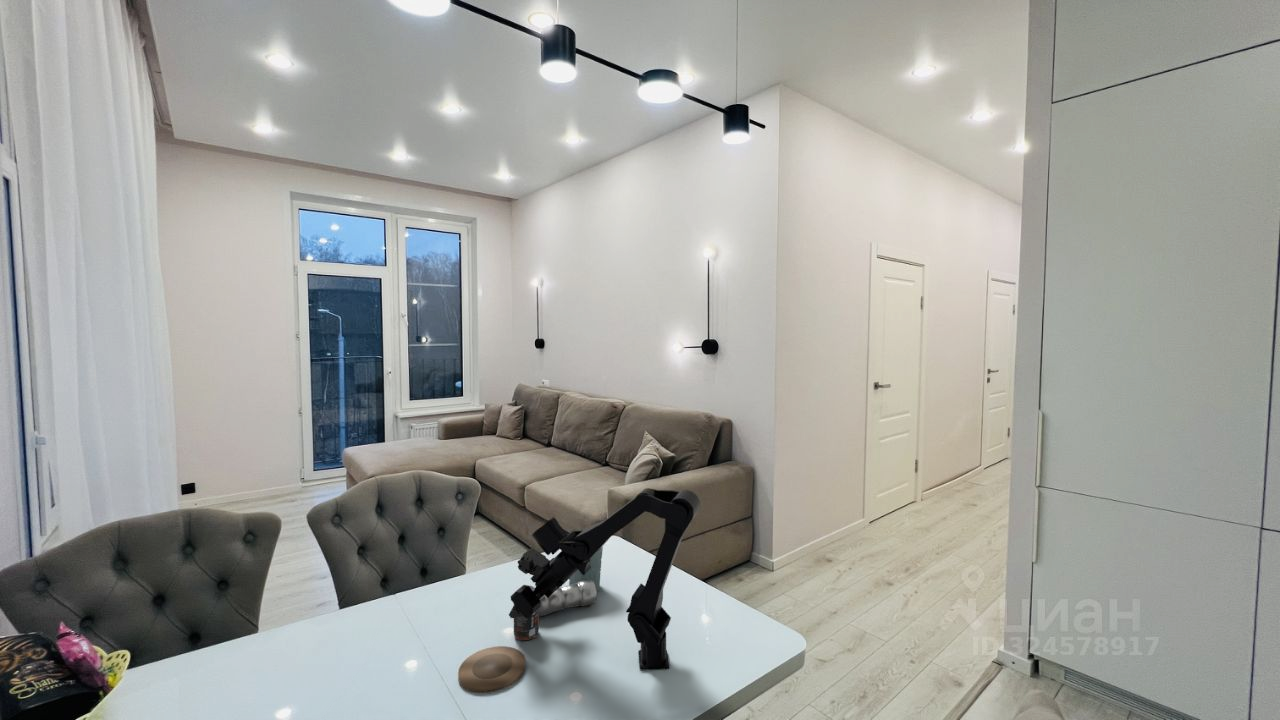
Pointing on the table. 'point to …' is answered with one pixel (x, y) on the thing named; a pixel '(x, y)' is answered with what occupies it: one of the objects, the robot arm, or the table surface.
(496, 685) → the disc
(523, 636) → the supplement bottle
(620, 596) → the table surface
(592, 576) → the grey-green cup
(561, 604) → the plastic bottle
